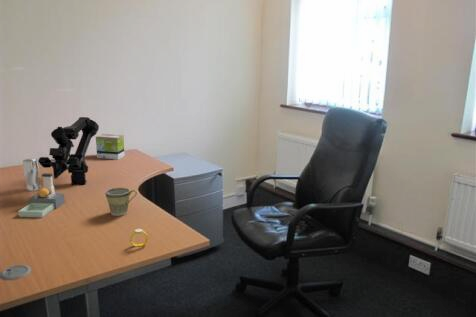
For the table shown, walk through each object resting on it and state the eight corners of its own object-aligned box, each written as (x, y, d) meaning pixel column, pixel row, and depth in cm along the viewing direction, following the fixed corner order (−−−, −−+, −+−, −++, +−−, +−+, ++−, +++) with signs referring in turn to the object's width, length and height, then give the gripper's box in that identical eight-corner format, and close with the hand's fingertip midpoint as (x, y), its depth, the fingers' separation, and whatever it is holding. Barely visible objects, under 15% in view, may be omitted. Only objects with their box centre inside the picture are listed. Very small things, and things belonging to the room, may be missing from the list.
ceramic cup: (109, 219, 174) (107, 196, 172) (104, 211, 183) (103, 189, 181) (140, 213, 180) (139, 191, 178) (134, 206, 189) (133, 185, 186)
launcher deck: (39, 201, 194) (38, 190, 193) (64, 202, 193) (63, 190, 192) (30, 208, 186) (28, 195, 185) (56, 208, 185) (55, 196, 184)
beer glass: (35, 191, 208) (31, 162, 204) (22, 190, 209) (19, 161, 206) (44, 187, 215) (41, 158, 211) (32, 186, 216) (28, 158, 212)
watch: (146, 243, 153) (147, 228, 152) (147, 246, 150) (148, 231, 149) (129, 244, 151) (130, 229, 150) (130, 248, 149) (130, 232, 147)
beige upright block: (45, 193, 192) (43, 173, 189) (54, 193, 191) (52, 173, 189) (42, 194, 189) (40, 174, 187) (52, 195, 189) (50, 175, 187)
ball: (50, 195, 189) (49, 187, 188) (48, 198, 185) (47, 189, 184) (40, 196, 188) (39, 187, 187) (38, 199, 184) (37, 190, 183)
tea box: (96, 158, 273) (94, 136, 270) (104, 155, 283) (102, 133, 279) (118, 159, 271) (117, 137, 267) (125, 156, 281) (123, 134, 277)
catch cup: (32, 208, 186) (31, 202, 186) (54, 208, 186) (53, 203, 185) (18, 216, 176) (18, 211, 176) (42, 217, 176) (41, 211, 175)
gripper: (38, 140, 198) (27, 169, 190) (76, 141, 196) (68, 170, 188) (48, 153, 207) (38, 181, 199) (85, 153, 206) (77, 182, 198)
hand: (55, 178), depth 196 cm, fingers closed
